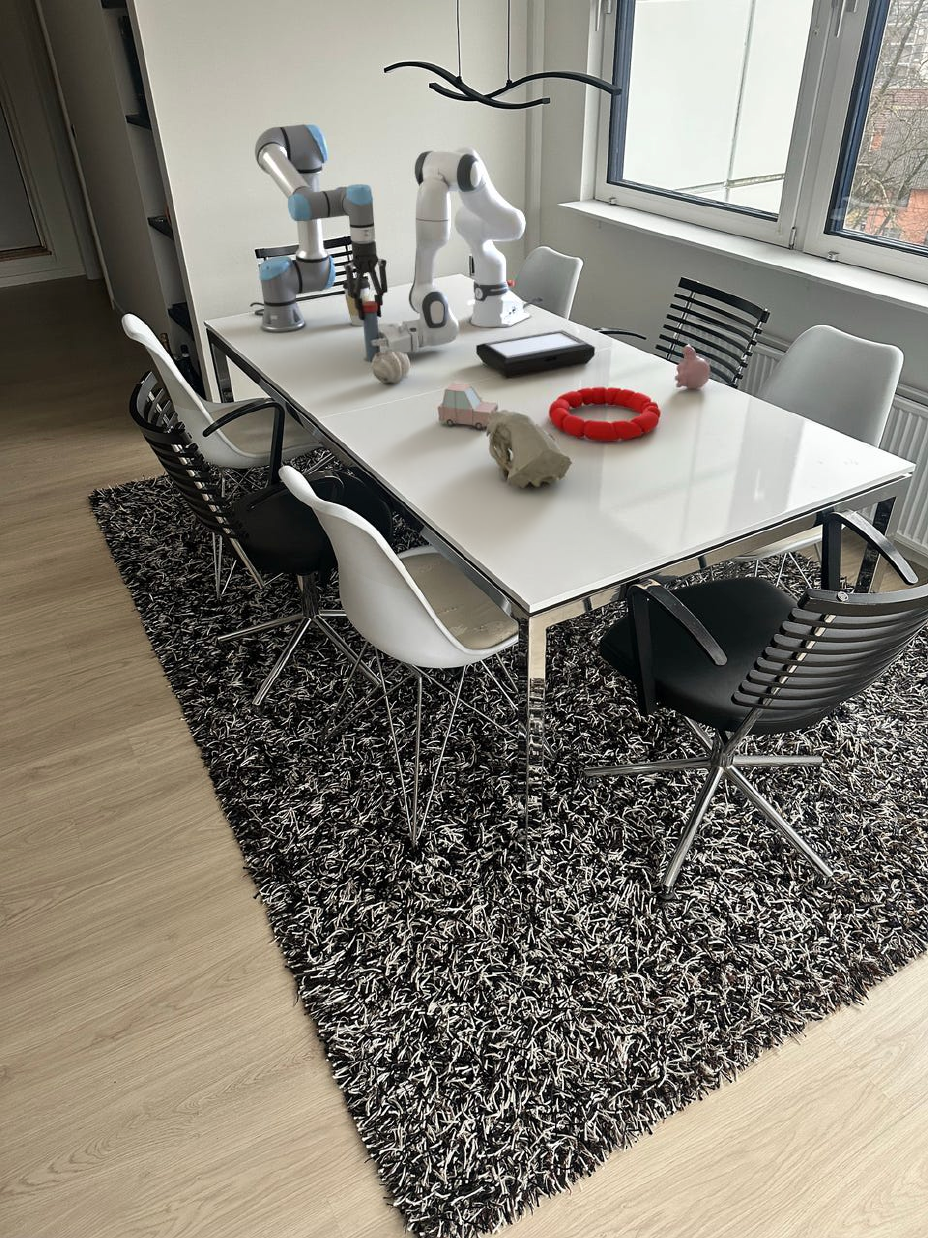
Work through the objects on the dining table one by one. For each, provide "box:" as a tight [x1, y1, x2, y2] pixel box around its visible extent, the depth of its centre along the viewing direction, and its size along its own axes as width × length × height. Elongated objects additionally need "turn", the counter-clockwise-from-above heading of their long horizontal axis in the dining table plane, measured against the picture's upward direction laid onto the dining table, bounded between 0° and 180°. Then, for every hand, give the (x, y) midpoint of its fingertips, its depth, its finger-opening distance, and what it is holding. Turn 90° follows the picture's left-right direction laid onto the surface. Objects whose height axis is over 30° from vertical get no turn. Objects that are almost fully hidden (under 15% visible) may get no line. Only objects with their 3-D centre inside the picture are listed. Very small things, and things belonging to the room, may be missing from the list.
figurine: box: [674, 344, 711, 390], centre depth 259 cm, size 9×11×12 cm
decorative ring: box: [548, 386, 661, 442], centre depth 242 cm, size 7×30×30 cm
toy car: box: [437, 382, 499, 431], centre depth 243 cm, size 9×15×10 cm, turn 70°
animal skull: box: [485, 409, 573, 489], centre depth 216 cm, size 17×25×20 cm
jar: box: [362, 311, 381, 362], centre depth 289 cm, size 5×5×17 cm
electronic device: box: [475, 329, 596, 379], centre depth 283 cm, size 32×6×20 cm
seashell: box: [371, 349, 411, 384], centre depth 271 cm, size 10×15×10 cm
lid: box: [363, 300, 378, 313], centre depth 284 cm, size 6×6×2 cm
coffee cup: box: [342, 277, 371, 327], centre depth 323 cm, size 10×10×15 cm
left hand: (370, 317), depth 286 cm, fingers closed on lid, 5 cm apart
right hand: (369, 339), depth 290 cm, fingers closed on jar, 5 cm apart
